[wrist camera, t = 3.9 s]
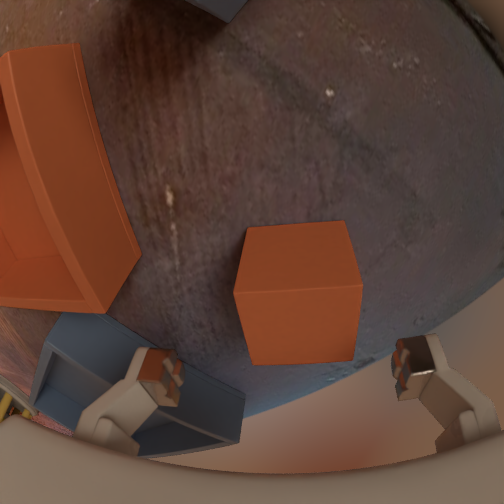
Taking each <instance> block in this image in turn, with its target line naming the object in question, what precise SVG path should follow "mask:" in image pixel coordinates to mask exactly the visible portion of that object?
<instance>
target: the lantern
mask: <svg viewBox="0 0 504 504" xmlns="http://www.w3.org/2000/svg"><path fill="white" fill-rule="evenodd" d="M28 402H29V397H28V396H27V395H26V394H25V393H23V392H22V391H21V390H20V389H19V388H17V387H16V386H15V385H14V384H12V383H11V382H10V381H8V380H7V379H6V378H4V377H3V376H2V375H0V423H1V422H2V421H4V420H5V419H7V418H8V417H10V415H9V413H10V410H11V408H12V406H13V407H14V410H13V412H12V414H11V416H12V415H14V414H18V415H19V414H20V412H22V416H24V417H26V418H28V419H30V420H31V417H33V416H36V415H37V414H38V412H39V411H38V410H37V409H35V408H34V407H32V406H31V405H30V404H28Z"/></svg>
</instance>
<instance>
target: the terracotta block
mask: <svg viewBox="0 0 504 504" xmlns="http://www.w3.org/2000/svg"><path fill="white" fill-rule="evenodd" d="M362 291H363V283H362V279H361V276H360V272H359V268H358V265H357V261H356V258H355V254H354V251H353V247H352V244H351V241H350V237H349V234H348V231H347V227H346V224H345V221H344V220H341V221H326V222H312V223H298V224H285V225H272V226H260V227H248V228H247V232H246V237H245V241H244V246H243V250H242V255H241V259H240V264H239V268H238V273H237V277H236V282H235V286H234V291H233V295H234V299H235V303H236V306H237V310H238V314H239V318H240V321H241V325H242V329H243V332H244V336H245V340H246V343H247V347H248V351H249V354H250V358H251V361H252V365H293V364H314V363H329V362H342V361H352V360H353V357H354V351H355V344H356V338H357V331H358V324H359V316H360V308H361V300H362Z"/></svg>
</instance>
